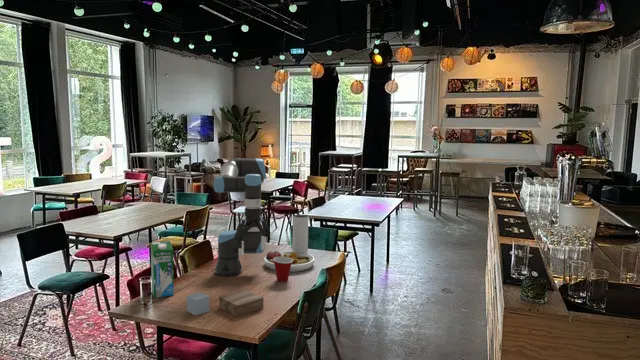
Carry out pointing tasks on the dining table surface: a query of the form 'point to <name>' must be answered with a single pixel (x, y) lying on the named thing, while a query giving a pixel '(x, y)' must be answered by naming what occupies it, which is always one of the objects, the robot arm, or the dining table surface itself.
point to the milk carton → (162, 269)
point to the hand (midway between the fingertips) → (252, 252)
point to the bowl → (299, 259)
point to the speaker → (300, 233)
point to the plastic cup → (282, 268)
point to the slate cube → (198, 303)
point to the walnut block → (241, 303)
